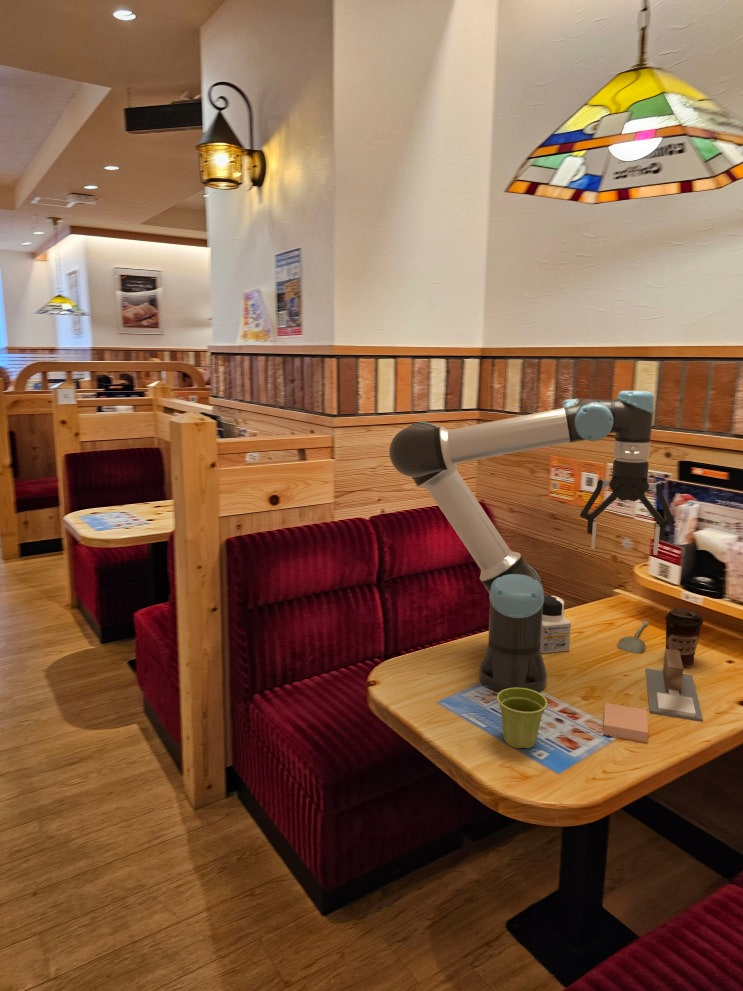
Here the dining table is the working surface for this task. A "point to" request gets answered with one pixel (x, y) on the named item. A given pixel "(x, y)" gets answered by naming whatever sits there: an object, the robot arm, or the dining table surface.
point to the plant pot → (521, 715)
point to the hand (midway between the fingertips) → (623, 550)
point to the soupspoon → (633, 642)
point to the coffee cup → (683, 633)
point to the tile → (625, 722)
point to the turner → (674, 687)
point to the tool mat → (657, 685)
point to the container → (554, 626)
